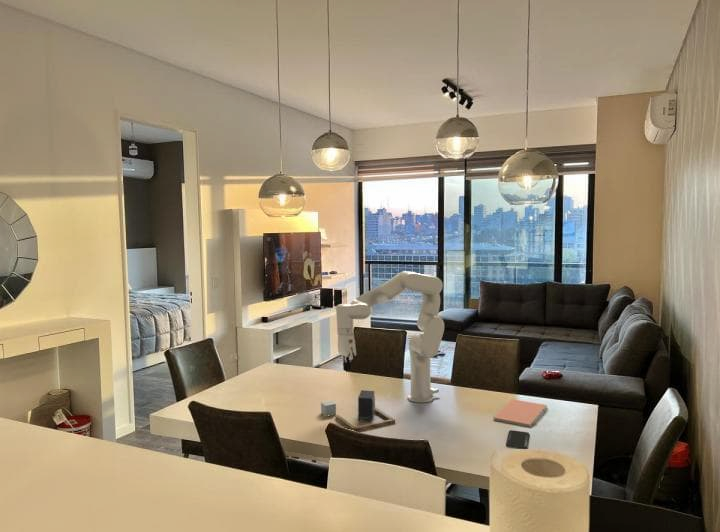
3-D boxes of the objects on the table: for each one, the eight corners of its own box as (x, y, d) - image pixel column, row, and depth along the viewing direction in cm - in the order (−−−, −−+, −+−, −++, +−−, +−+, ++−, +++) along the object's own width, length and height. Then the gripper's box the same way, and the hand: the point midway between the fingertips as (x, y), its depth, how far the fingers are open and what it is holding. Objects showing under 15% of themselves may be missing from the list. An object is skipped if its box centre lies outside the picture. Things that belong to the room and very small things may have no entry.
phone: (529, 432, 207) (527, 447, 193) (529, 435, 207) (527, 450, 193) (508, 429, 210) (505, 444, 196) (508, 432, 210) (505, 447, 196)
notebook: (532, 429, 213) (532, 424, 213) (492, 421, 222) (492, 416, 222) (549, 409, 236) (549, 404, 236) (512, 402, 245) (512, 398, 245)
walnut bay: (375, 410, 236) (375, 407, 236) (395, 423, 221) (395, 419, 220) (335, 418, 227) (335, 415, 227) (353, 432, 211) (353, 428, 211)
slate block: (331, 411, 236) (331, 400, 236) (336, 414, 232) (335, 403, 232) (321, 413, 234) (321, 402, 234) (325, 416, 230) (325, 405, 229)
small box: (372, 421, 223) (372, 398, 222) (357, 421, 224) (357, 397, 223) (375, 413, 233) (375, 390, 232) (360, 412, 234) (360, 389, 233)
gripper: (360, 332, 232) (362, 372, 233) (345, 327, 245) (347, 365, 247) (345, 334, 228) (347, 375, 230) (331, 329, 242) (333, 367, 243)
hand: (347, 370), depth 238 cm, fingers closed
